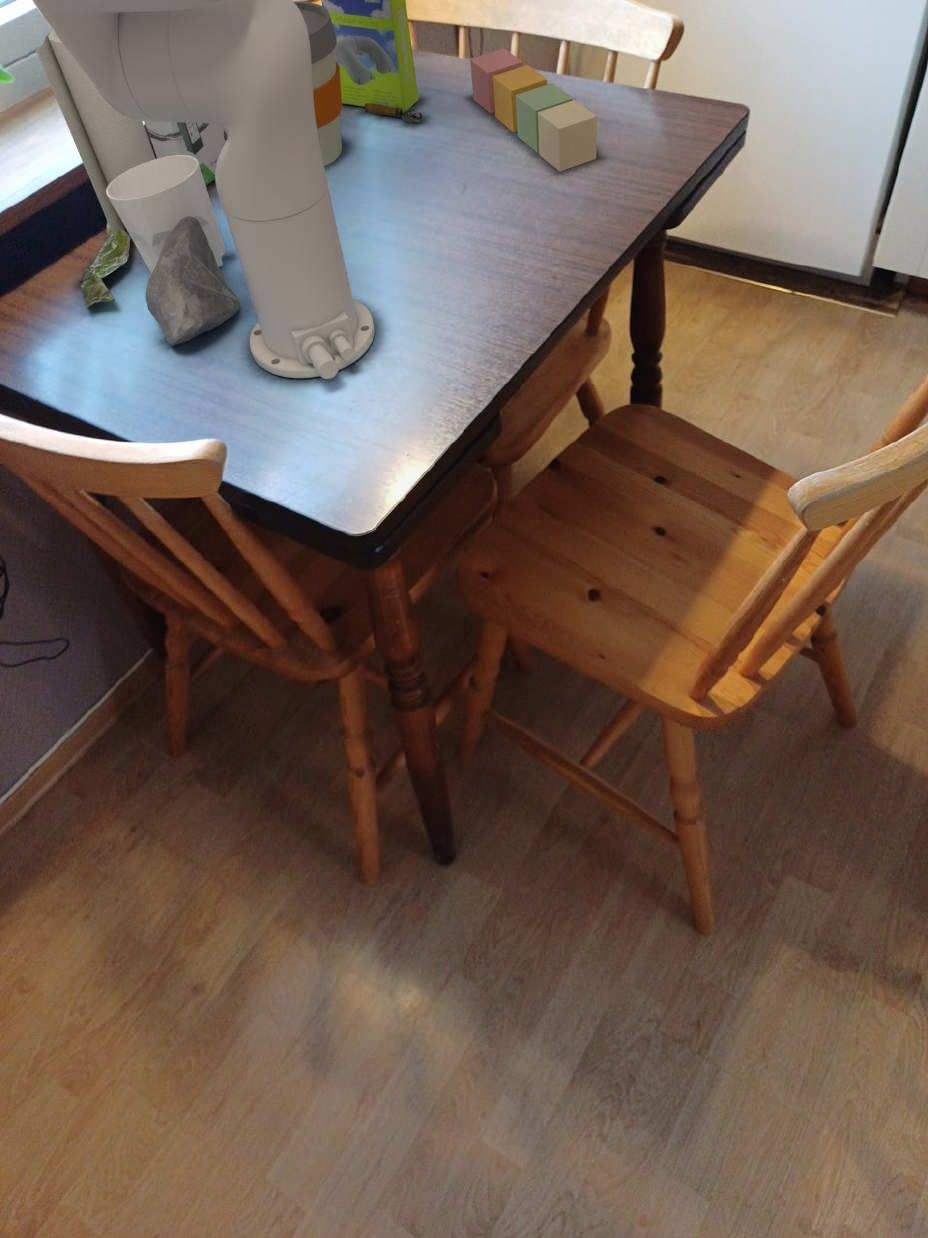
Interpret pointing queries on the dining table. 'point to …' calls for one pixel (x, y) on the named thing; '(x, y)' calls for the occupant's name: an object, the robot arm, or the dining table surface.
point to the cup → (163, 204)
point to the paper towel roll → (94, 124)
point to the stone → (188, 285)
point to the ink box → (190, 142)
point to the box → (374, 52)
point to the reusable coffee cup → (324, 79)
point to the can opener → (393, 112)
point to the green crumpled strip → (105, 267)
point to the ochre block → (513, 92)
